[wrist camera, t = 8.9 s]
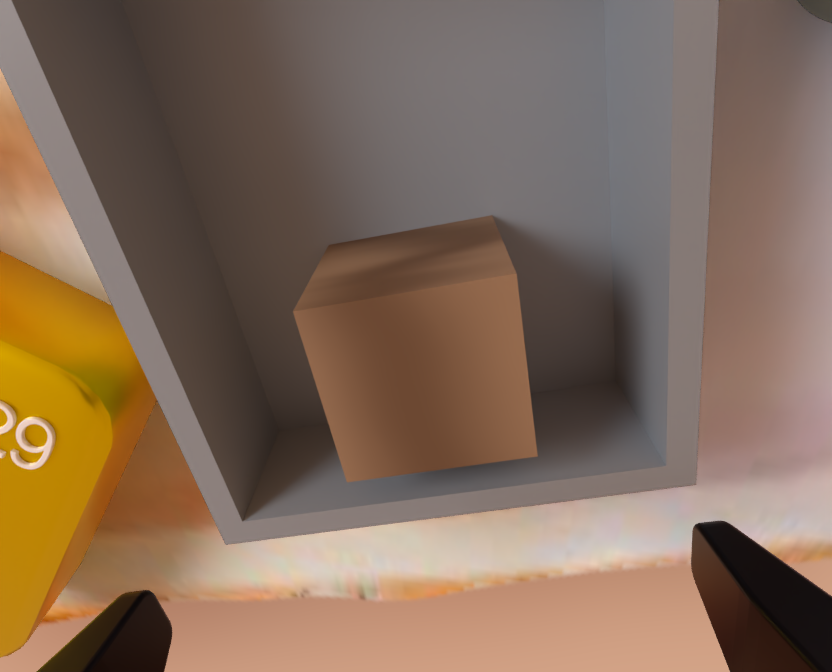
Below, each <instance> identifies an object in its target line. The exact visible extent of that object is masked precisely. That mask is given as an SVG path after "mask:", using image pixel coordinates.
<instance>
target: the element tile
mask: <svg viewBox="0 0 832 672" xmlns="http://www.w3.org/2000/svg"><path fill="white" fill-rule="evenodd" d="M156 401H157V399H156V396H155V394H154V392H153V390H152V388H151V386H150V384H149V382H148V380H147V377H146V375H145V373H144V371H143V369H142V367H141V365H140V363H139V360H138V358H137V356H136V354H135V352H134V350H133V348H132V346H131V344H130V341H129V339H128V337H127V335H126V333H125V331H124V329H123V327H122V325H121V322H120V320H119V318H118V316H117V314H116V312H115V310H114V308H113V306H111V305H109V304H107V303H105V302H103V301H101V300H99V299H97V298H95V297H93V296H91V295H89V294H87V293H85V292H83V291H81V290H79V289H77V288H74V287H72V286H70V285H68V284H66V283H64V282H62V281H60V280H58V279H56V278H54V277H52V276H50V275H48V274H46V273H44V272H42V271H40V270H38V269H36V268H34V267H32V266H30V265H28V264H26V263H24V262H22V261H20V260H18V259H16V258H14V257H12V256H10V255H8V254H6V253H3V252H1V251H0V657H3V656H8V655H10V654H12V653H14V652H15V651H17V650H19V649H20V648H21V647H22V646H24V644H25V643H26V642H27V640H29V638H30V637H31V635H32V634H33V632H34V631H35V630H36V628H37V627H38V625H39V624H40V622H41V621H42V619H43V618H44V617H45V615H46V614H47V612H48V611H49V609H50V608H51V606H52V605H53V603H54V602H55V600H56V599H57V598H58V596H59V595H60V593H61V592H62V590H63V589H64V587H65V586H66V584H67V583H68V581H69V580H70V579H71V577H72V576H73V574H74V573H75V571H76V570H77V568H78V567H79V565H80V564H81V562H82V560H83V558H84V556H85V554H86V551H87V549H88V547H89V545H90V543H91V541H92V539H93V536H94V534H95V532H96V530H97V528H98V526H99V524H100V521H101V519H102V517H103V515H104V513H105V511H106V508H107V506H108V504H109V502H110V500H111V498H112V496H113V493H114V491H115V489H116V487H117V485H118V483H119V480H120V478H121V476H122V474H123V472H124V470H125V468H126V465H127V463H128V461H129V459H130V457H131V455H132V452H133V450H134V448H135V446H136V444H137V442H138V440H139V437H140V435H141V433H142V431H143V429H144V427H145V424H146V422H147V420H148V418H149V416H150V414H151V412H152V409H153V407H154V405H155V403H156Z"/></svg>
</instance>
